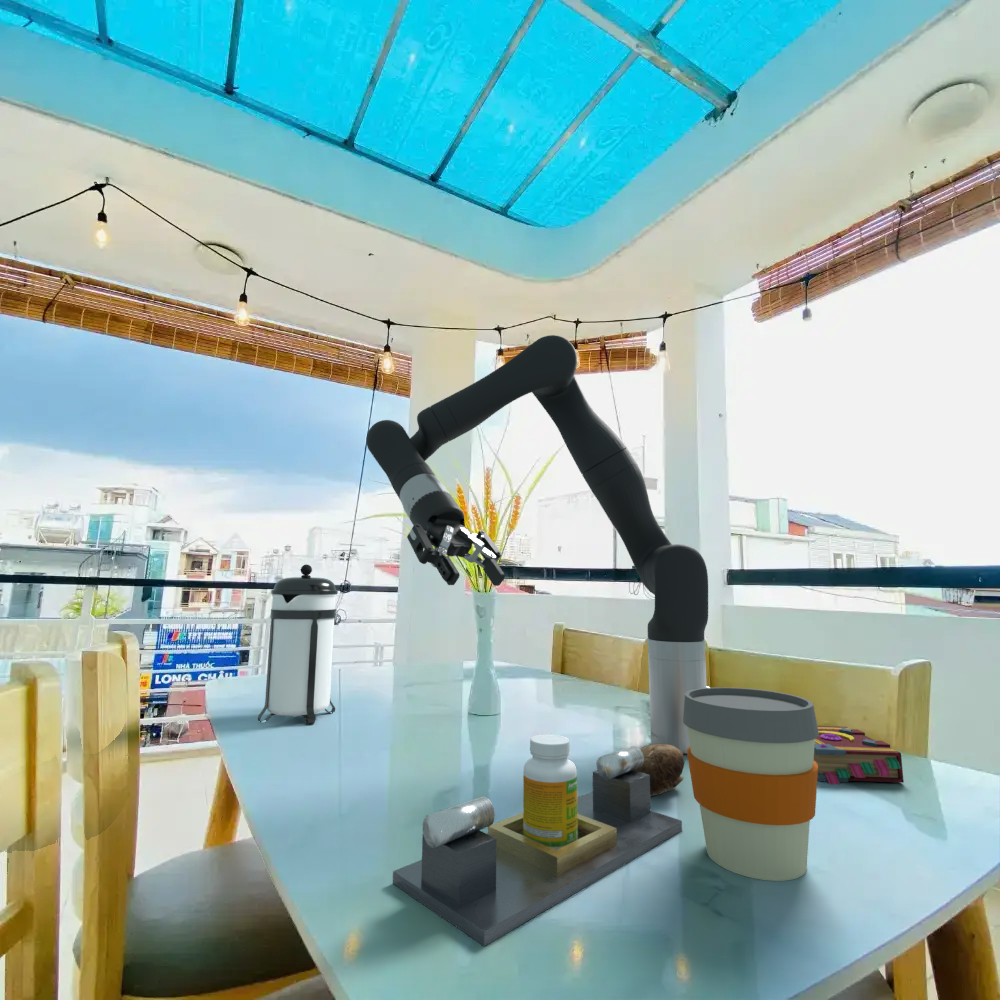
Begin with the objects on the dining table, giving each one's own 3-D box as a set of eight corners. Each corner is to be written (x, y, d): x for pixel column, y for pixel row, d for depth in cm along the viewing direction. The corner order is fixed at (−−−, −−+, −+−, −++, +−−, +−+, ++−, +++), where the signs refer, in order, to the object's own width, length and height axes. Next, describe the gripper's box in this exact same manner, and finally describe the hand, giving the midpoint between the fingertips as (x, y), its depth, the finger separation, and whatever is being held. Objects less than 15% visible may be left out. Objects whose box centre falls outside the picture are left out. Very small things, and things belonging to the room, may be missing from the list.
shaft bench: (594, 798, 70) (593, 736, 71) (684, 829, 62) (681, 757, 63) (387, 885, 50) (391, 795, 51) (479, 949, 41) (480, 839, 42)
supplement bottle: (575, 857, 53) (574, 748, 54) (518, 851, 54) (519, 744, 55) (579, 833, 58) (578, 733, 59) (527, 828, 59) (527, 730, 60)
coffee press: (352, 719, 110) (359, 564, 114) (266, 730, 101) (277, 562, 105) (325, 703, 124) (332, 566, 129) (247, 712, 115) (257, 564, 120)
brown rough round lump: (699, 760, 75) (672, 722, 75) (701, 804, 68) (671, 762, 68) (648, 780, 79) (622, 744, 78) (644, 824, 71) (616, 784, 71)
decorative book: (849, 754, 91) (847, 721, 92) (912, 790, 75) (908, 750, 76) (776, 751, 92) (774, 719, 93) (822, 786, 76) (819, 747, 77)
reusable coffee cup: (855, 867, 53) (842, 702, 56) (779, 907, 47) (768, 717, 49) (737, 820, 64) (730, 683, 66) (661, 847, 57) (656, 693, 59)
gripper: (403, 483, 83) (451, 560, 73) (476, 494, 93) (527, 563, 83) (382, 522, 86) (425, 600, 76) (454, 529, 96) (501, 599, 86)
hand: (478, 581), depth 79 cm, fingers open, 8 cm apart
